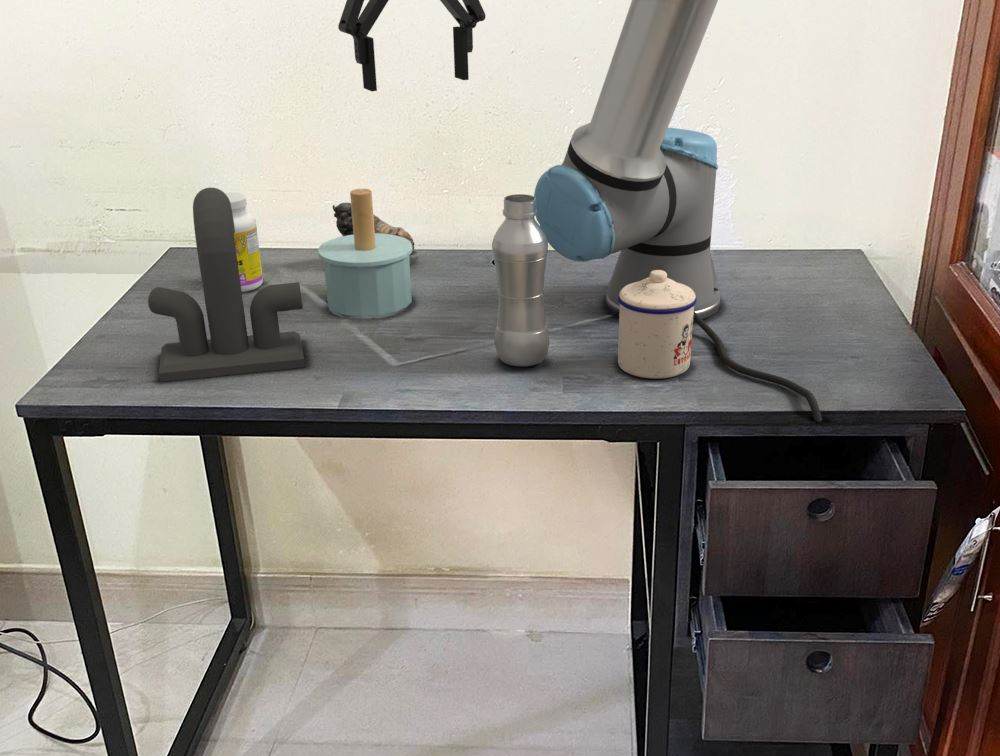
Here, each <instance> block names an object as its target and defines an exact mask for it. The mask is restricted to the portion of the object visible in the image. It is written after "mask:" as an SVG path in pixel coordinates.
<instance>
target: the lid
mask: <svg viewBox="0 0 1000 756" xmlns="http://www.w3.org/2000/svg"><path fill="white" fill-rule="evenodd" d="M372 193H373V192H372V190H371V189H369V188H355V189H351V190H350V192H349V196H350V198H349V199H350V203H351V209H352V221H353V233H354V234H353V235H347V236H342V235H341V236H338V237H335V238H332V239H330V240H326V241H325V242H323V243H322V244H321V245H319V247H318V248H317V254H318V257H319V259H320V260H321V261H323V262H324V261H325V262H327V263H330V264H334V265H339V266H348V267H368V266H378V265H384V264H389V263H393V262H396V261H399V260H402V259H404V258H406V257H407V256H409V255H410V254H411V253H412V243H411V242H410V241H409V240H407V239H405V238H403V237H400V236H396V235H390V234H380V233H375V231H374V217H373V214H374V205H373V194H372Z"/></svg>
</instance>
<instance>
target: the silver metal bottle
mask: <svg viewBox="0 0 1000 756" xmlns="http://www.w3.org/2000/svg"><path fill="white" fill-rule="evenodd" d="M502 215H503V216H504V220H503V221H502V223H501V224H500V225H499V227H497V229H496V231H495V233H494V235H493V239H492V241H491V251H492V257H493V264H494V268H495V273H496V283H497V284H496V285H497V289H498V290H497V293H498V294H497V297H498V302H497V303H498V304H497V321H496V322H497V323H496V328H495V333H494V347H495V353H496V355H497V357H498V358H499V360H500V361H501V362H502V363H504V364H506V365H509V366H513V367H514V366H515V367H531V366H536V365H539V364H541V363H543V361H544V360H545V359H546V357H547V356H548V354H549V349H550V336H549V330H548V326H547V322H546V311H545V300H544V295H545V290H544V288H545V274H546V267H547V259H548V258H547V257H548V251H549V243H548V241H547V238H546V235H545V234H544V232H543V230H542V229H541V227H540V224H539V223H538V221H537V219H536V215H537V209H536V198H535V197H534V195H530V194H523V193H519V194H518V193H517V194H509V195H507V196H505V197H503V209H502Z"/></svg>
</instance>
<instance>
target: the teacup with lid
mask: <svg viewBox="0 0 1000 756" xmlns="http://www.w3.org/2000/svg"><path fill="white" fill-rule="evenodd" d="M618 301H619V303H620V314H619V315H618V317H619V318H618V344H617V345H618V346H617V348H618V349H617V363H618V364H617V365H618V366H619V368H620V369H621V370H622V371H624V372H625V373H626V374H629V375H632V376H634V377H638V378H643V379H654V380H655V379H658V380H660V379H669V378H675V377H677V376H680V375H682V374H684V373H685V372H686V371H688V369H689V368H690V365H691V356H692V340H693V327H694V326H693V325H694V322H693V314H694V305H695V304H696V301H697V299H696V295H695V293H694V291H693V290H692V289H691V288H690V287H688V286H686V285H684V284H681V283H677V282H675V281H673V280H671V279H669V278H667V273H666V272H665V271H663V270H654V271H652V272H651V273H650V277H649V278H646V279H643V280H641V281H638V282H634V283H631V284H629V285H627V286H625V287H624V288H623V289H622V290H621V291H620V293H619V296H618Z"/></svg>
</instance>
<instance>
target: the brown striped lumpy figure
mask: <svg viewBox="0 0 1000 756" xmlns="http://www.w3.org/2000/svg"><path fill="white" fill-rule="evenodd" d="M332 211H333V212H334V213H333V218H336V222H335V223H336V224H335V225H336V228H337V230H338V232H339V233H340V235H341V237H342V236H347V235H353V234H354V233H353V221H352V209H351V202H341V203H339V204H337V205H336V206H335V204H333V205H332ZM373 217H374V231H375V233H380V234H390V235H396V236H400V237H403V238H405V239H407V240H409V241H410V242H411V243H412V253H411V254H410V255H409V262H410V265H412V264H413V263H415V262H416V261H417V260H418V259H419V252H418V251H416V249H415V242H414V239H413V237H412V235H411V234H410V232H408V231H406V230H405V229H404V228H403V227H401V226H393V225H391V224H389V223H388V222H385V221H384V220H382V219H381V218H380V217H378V216H377V215H375V214H374V213H373Z"/></svg>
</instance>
